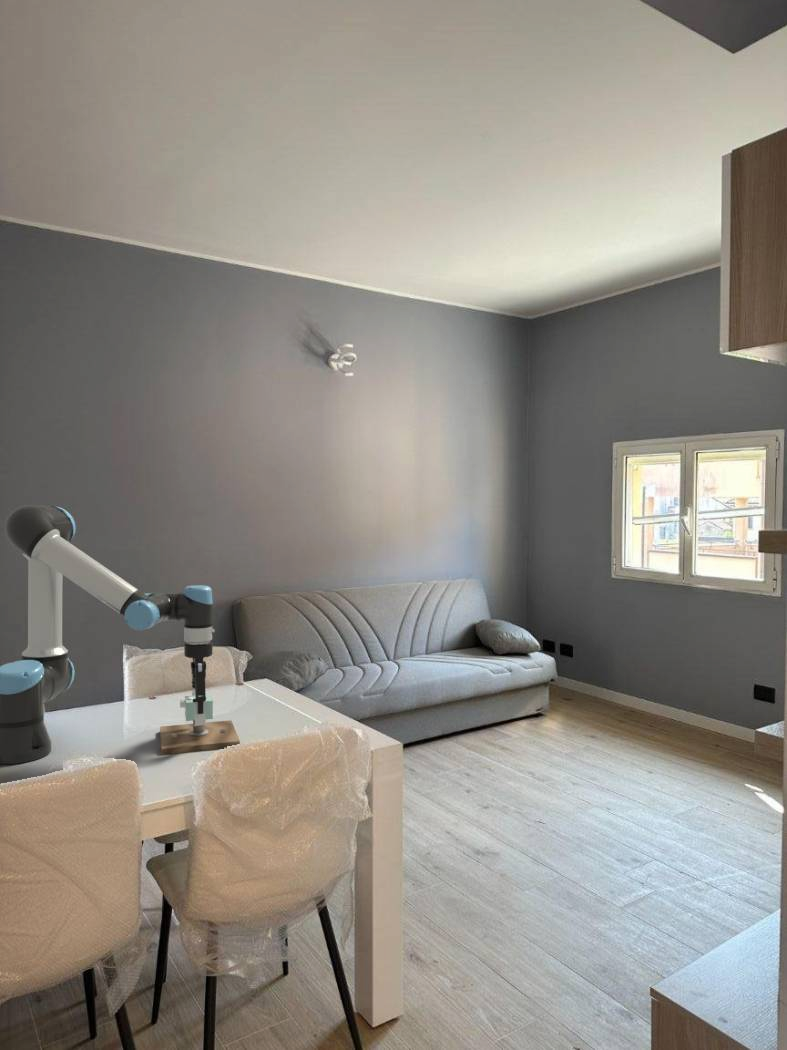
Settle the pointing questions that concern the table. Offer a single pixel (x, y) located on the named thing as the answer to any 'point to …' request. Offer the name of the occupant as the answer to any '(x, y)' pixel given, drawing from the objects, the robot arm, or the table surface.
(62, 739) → the table surface
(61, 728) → the table surface
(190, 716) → the cap
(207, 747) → the walnut base
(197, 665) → the robot arm
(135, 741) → the table surface
